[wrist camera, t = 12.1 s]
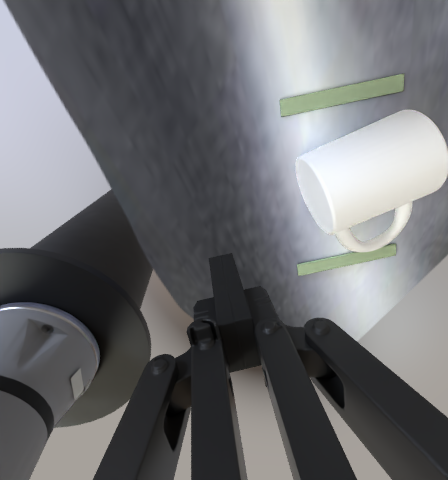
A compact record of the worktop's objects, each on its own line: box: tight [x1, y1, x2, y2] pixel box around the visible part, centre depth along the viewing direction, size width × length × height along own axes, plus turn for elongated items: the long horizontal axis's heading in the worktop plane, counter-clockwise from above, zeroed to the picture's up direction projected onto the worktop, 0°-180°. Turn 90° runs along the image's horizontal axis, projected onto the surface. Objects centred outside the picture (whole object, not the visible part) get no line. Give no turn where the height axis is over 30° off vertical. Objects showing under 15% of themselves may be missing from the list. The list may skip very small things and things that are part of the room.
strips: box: [280, 74, 404, 276], centre depth 31 cm, size 12×20×1 cm, turn 11°
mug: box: [295, 110, 448, 252], centre depth 27 cm, size 12×10×8 cm
